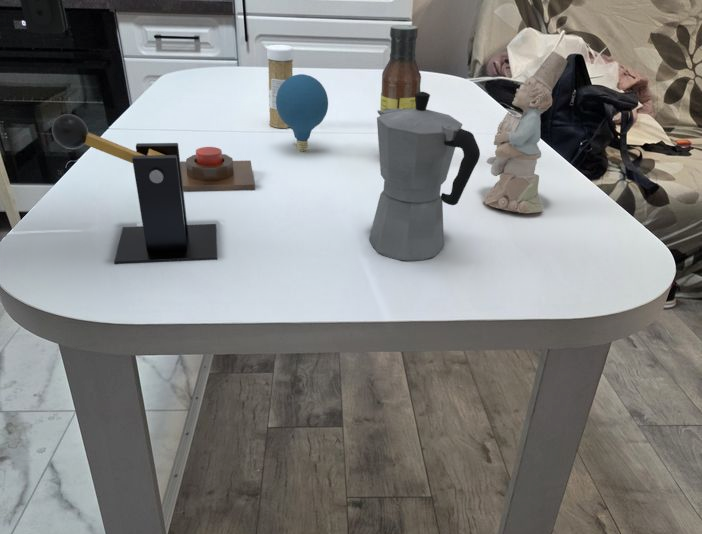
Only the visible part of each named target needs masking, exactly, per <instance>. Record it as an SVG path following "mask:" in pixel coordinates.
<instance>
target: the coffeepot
mask: <svg viewBox="0 0 702 534" xmlns="http://www.w3.org/2000/svg"><path fill="white" fill-rule="evenodd" d="M430 97H431V94H430V93H428V92H425V91H420V92H418V93H415V104H416V108H415V109H396V108H392V109H388V108H387V109H384V110H379V109H378V110H377V111H376V112H377V114H378V115H379V116H377V117H376V122H377V123H376V124H377V125H376V127H377V140H378V154H379V167H380V170H379V171H380V176H381V177H382V179H383V180H384V182H383V190H382V191H381V193H380V195H379V199H378V202H377V207H376V210H375V214H374V218H373V222H372V225H371V229H370V232H369V233H370V234H369V238H368V240H369V241H370V244H371V246H372V248H373V249H374V250H375V251H376V252H377V253H379V254H381V255H382V256H384V257H387V258H391V259H393V260H398V261H408V262H409V261H410V262H416V261H417V262H418V261H425V260H429V259H431V258H434V257H436V256H437V255H438V254H440V251H441V250H442V248H444V246H445V236H444V235H445V234H444V207H443V206H444V205H443V203H445V204H447V205H449V206H456V205H458V203H459V201H460V199H461V197H462V195H463V193H464V191H465V189H466V186H467V184H468V182H469V180H470V178H471V177H472V174H473V172H474V170H475V167H476V165H477V164H478V162H479V159H480V157H481V152H480V148H479V145H478V142H477V141H476V138H475V136H474V134H473V132H471V131H469V130H466V129H463V128H462V127H463V123H462V122H460V121H459V120H457V119H456V118H454V117H453V116H452V115H449V114H446V113H443V112H439V111H434V110H431V109H427V107H428V103H429V101H430ZM456 148H460V149H461V150H462V154H463V158H462V159H461V161H460V164H459V168H458V171H457V175H456V176H455V177H454V179H453V182H452V186H451V192H450V193H449V194H447V193H445V192H442V193H441V190H442V189H441V188H442V185H443V184H444V183H445V182H446V180H447V179H448V178H447V177H448V175H449V171H450V167H451V164H452V161H453V157H454V154H455V150H456Z"/></svg>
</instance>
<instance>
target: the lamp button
mask: <svg viewBox="0 0 702 534" xmlns="http://www.w3.org/2000/svg"><path fill="white" fill-rule="evenodd" d="M222 154H223V151H222V149H221V148H219V147H216V146H202V147H199V148H197V149H195V155H196V160H197V164H200V165H205V166H209V165H218V164H221V163H223V162H222Z"/></svg>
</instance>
